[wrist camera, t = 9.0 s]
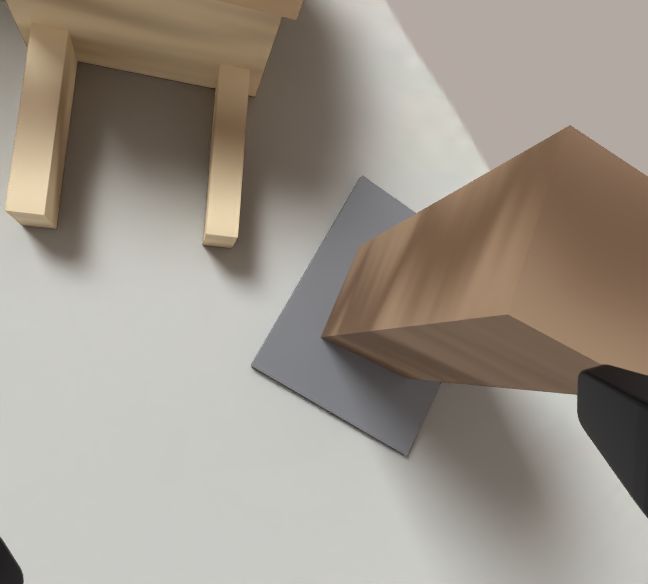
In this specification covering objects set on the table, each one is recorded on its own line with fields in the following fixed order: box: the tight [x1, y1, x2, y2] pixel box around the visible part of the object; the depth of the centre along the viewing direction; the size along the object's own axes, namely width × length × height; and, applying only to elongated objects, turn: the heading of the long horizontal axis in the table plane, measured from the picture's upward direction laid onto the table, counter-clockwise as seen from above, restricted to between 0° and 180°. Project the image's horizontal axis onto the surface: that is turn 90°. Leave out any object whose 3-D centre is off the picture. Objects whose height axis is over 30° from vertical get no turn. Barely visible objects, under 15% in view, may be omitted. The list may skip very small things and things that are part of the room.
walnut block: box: [321, 125, 648, 395], centre depth 17 cm, size 4×4×12 cm
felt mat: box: [251, 176, 441, 456], centre depth 23 cm, size 10×8×1 cm
